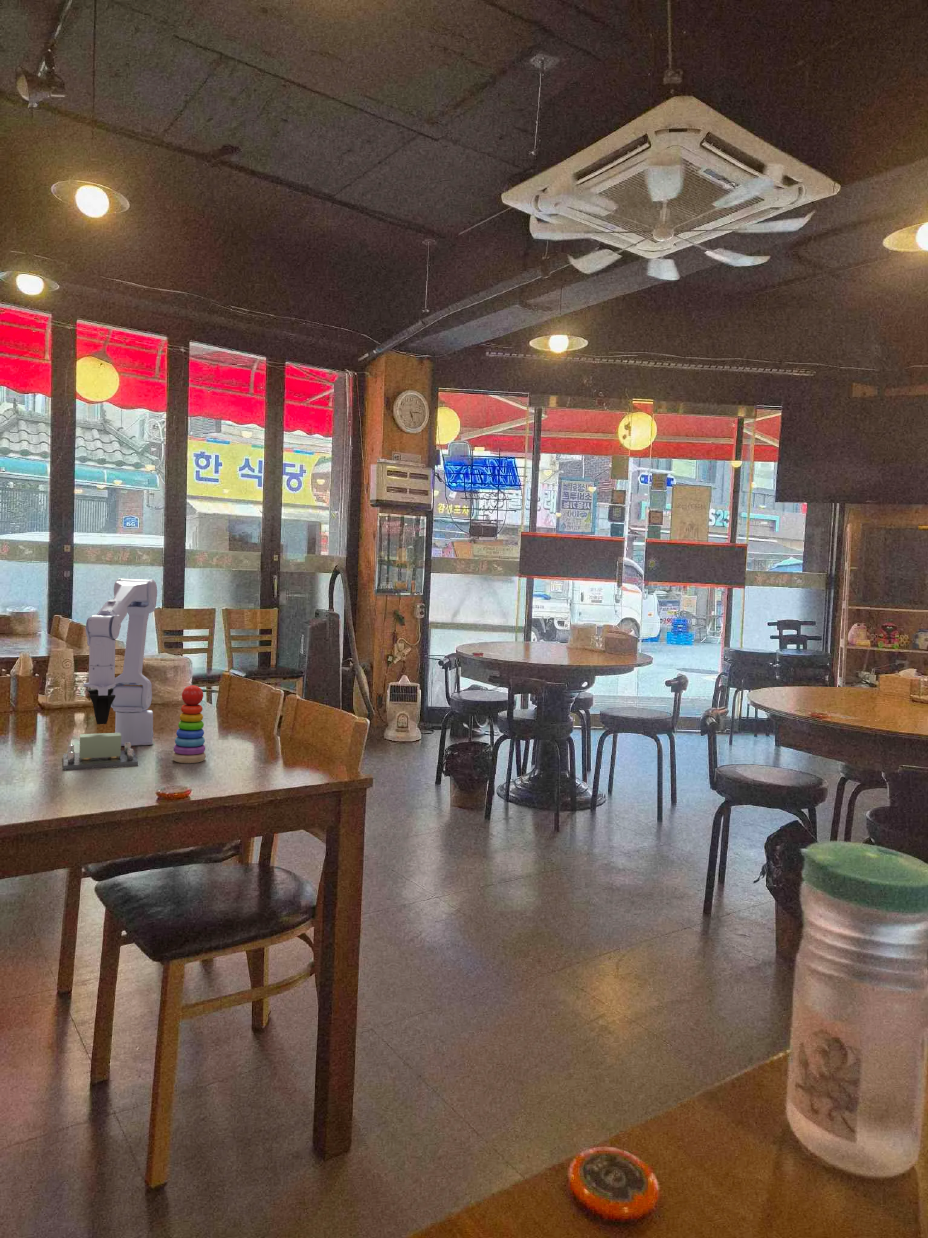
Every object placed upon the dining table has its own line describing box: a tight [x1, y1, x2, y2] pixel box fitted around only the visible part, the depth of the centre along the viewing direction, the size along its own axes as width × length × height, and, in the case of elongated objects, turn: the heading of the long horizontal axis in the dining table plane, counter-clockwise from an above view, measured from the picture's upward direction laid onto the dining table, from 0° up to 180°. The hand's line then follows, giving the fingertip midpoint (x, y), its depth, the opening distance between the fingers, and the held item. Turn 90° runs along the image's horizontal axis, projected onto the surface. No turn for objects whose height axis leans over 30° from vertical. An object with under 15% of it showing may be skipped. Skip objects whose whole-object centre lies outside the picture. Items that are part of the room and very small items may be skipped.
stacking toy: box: [171, 684, 207, 764], centre depth 204 cm, size 8×8×19 cm
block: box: [78, 732, 122, 758], centre depth 199 cm, size 9×4×5 cm, turn 116°
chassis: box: [62, 742, 139, 771], centre depth 199 cm, size 16×13×4 cm
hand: (100, 721), depth 199 cm, fingers open, 7 cm apart
